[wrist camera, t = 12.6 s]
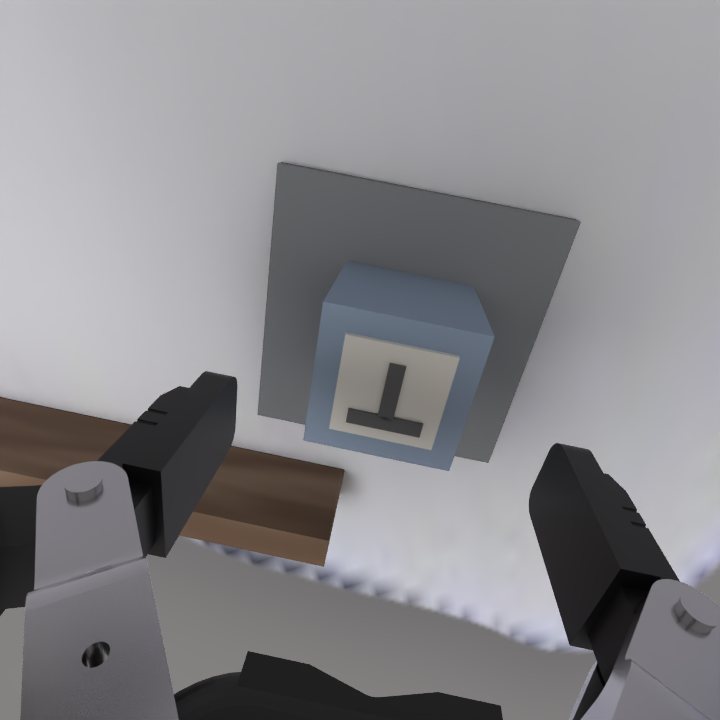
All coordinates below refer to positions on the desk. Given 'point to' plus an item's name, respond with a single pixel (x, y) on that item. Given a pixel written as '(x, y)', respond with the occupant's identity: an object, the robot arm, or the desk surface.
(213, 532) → the bar
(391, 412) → the letter cube
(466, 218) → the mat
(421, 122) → the desk surface
